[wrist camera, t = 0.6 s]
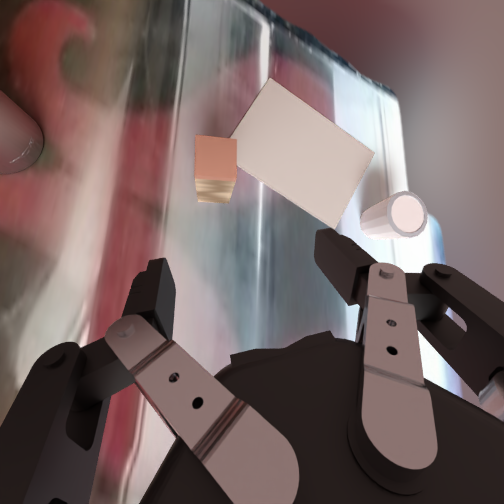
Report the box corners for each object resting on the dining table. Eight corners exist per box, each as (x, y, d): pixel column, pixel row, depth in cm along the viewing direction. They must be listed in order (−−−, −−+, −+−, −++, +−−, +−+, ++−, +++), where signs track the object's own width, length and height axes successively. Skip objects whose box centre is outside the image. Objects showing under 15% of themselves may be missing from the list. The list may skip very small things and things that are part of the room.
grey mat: (219, 154, 37) (219, 153, 36) (269, 78, 39) (269, 77, 39) (333, 229, 39) (334, 229, 39) (373, 153, 42) (374, 153, 42)
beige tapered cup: (371, 196, 41) (404, 181, 34) (398, 222, 42) (436, 212, 35) (349, 224, 40) (378, 214, 33) (377, 251, 40) (412, 247, 34)
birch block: (198, 201, 35) (194, 174, 26) (198, 171, 36) (195, 134, 26) (228, 203, 36) (236, 178, 27) (229, 174, 37) (236, 139, 27)
